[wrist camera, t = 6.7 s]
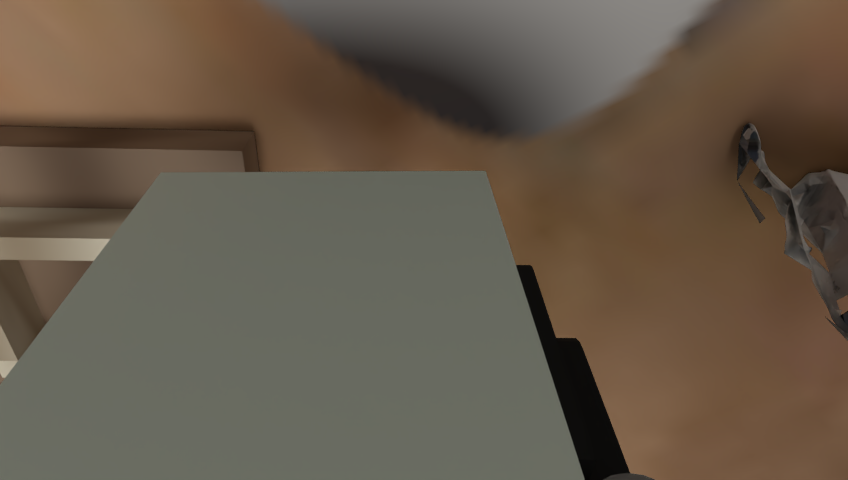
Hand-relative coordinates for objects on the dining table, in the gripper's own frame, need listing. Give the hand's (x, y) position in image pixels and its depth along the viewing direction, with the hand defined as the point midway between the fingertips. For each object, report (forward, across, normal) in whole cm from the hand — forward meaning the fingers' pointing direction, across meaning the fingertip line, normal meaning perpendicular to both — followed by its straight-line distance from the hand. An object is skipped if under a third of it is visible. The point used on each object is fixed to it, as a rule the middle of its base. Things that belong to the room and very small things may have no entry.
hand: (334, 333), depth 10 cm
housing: (+1, 0, 0) cm, 1 cm away
